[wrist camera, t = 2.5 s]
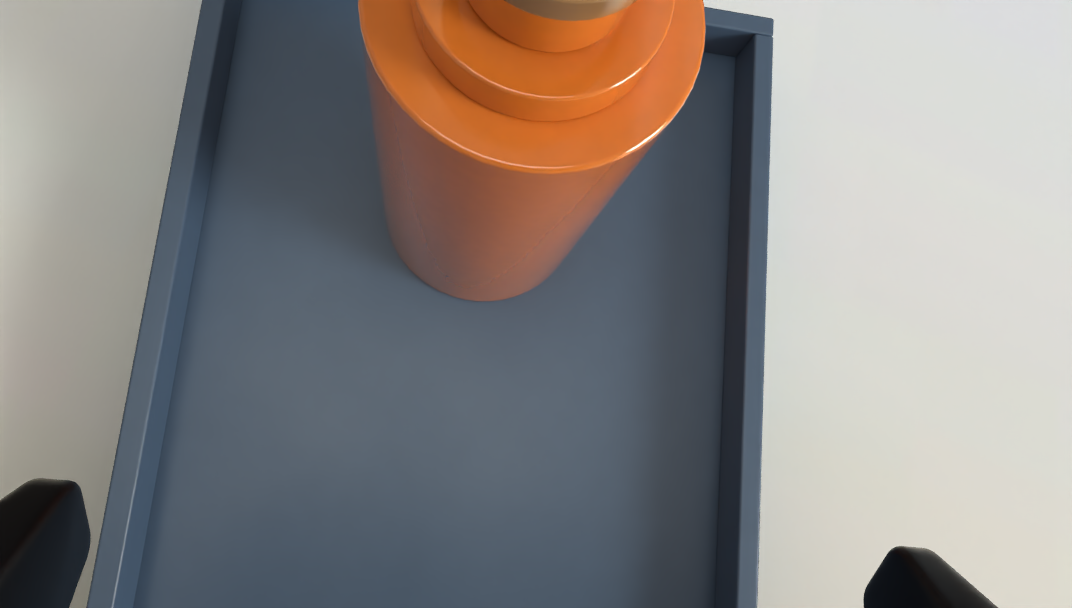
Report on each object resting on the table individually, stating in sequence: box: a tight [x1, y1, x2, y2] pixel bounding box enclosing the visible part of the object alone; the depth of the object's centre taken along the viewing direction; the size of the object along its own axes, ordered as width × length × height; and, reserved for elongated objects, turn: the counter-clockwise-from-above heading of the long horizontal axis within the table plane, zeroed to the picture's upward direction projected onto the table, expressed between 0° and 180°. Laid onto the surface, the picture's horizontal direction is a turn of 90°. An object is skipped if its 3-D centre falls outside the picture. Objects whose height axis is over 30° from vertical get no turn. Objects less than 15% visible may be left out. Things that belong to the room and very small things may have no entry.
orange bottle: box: [358, 0, 706, 301], centre depth 16 cm, size 6×6×13 cm
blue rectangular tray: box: [86, 0, 773, 608], centre depth 21 cm, size 21×16×2 cm
